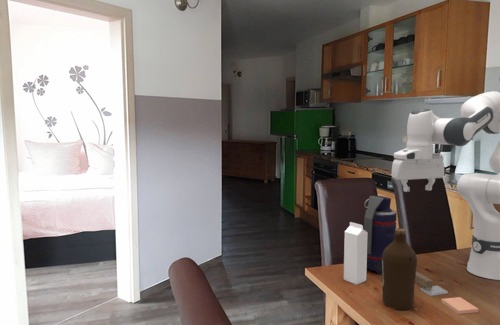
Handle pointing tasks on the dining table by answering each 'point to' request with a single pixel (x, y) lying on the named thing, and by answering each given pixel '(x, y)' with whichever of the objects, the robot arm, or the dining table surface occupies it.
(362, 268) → the milk
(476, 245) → the robot arm
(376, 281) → the dining table surface
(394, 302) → the olive oil
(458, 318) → the dining table surface
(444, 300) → the tile
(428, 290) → the turner
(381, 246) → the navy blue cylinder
